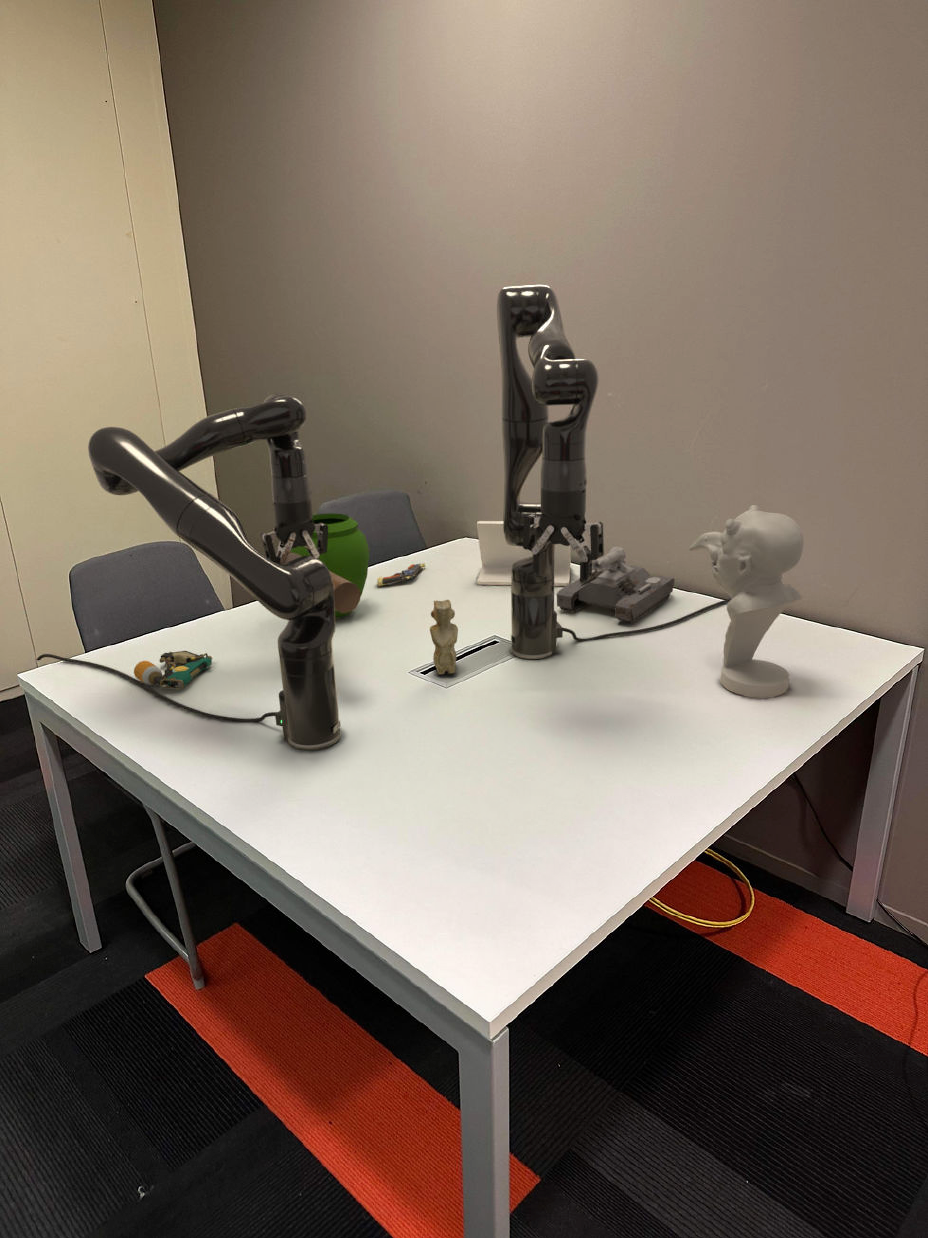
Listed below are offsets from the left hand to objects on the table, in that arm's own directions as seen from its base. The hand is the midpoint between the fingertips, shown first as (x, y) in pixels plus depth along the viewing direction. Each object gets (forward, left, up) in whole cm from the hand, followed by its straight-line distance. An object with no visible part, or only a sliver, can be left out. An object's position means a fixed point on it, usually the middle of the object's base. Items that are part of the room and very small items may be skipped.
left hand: (299, 577), depth 176 cm
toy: (+51, +61, -20) cm, 82 cm away
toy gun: (-11, +62, -20) cm, 66 cm away
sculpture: (+28, +9, -20) cm, 36 cm away
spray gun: (-24, -14, -20) cm, 34 cm away
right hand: (+58, -4, +7) cm, 59 cm away
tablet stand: (+21, +76, -20) cm, 81 cm away
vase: (-13, +30, -20) cm, 39 cm away
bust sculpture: (+85, +26, -20) cm, 91 cm away
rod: (+8, -5, -2) cm, 9 cm away
